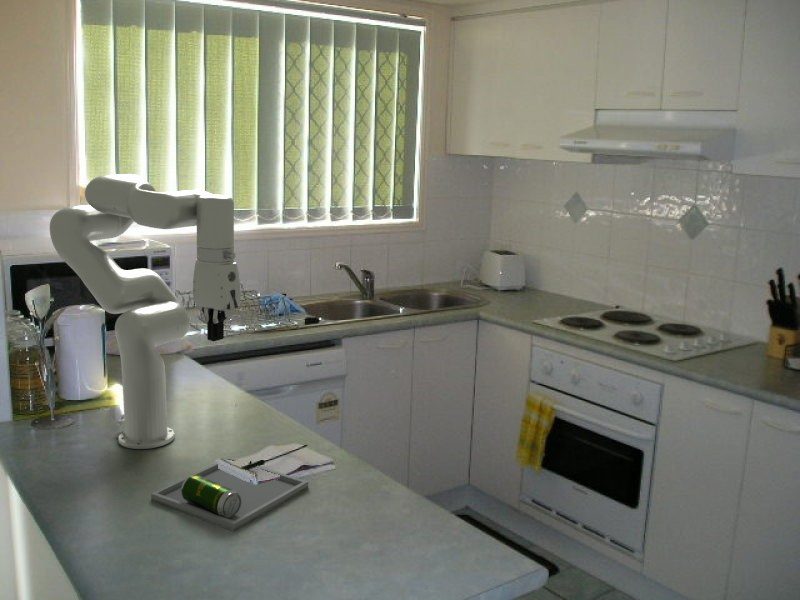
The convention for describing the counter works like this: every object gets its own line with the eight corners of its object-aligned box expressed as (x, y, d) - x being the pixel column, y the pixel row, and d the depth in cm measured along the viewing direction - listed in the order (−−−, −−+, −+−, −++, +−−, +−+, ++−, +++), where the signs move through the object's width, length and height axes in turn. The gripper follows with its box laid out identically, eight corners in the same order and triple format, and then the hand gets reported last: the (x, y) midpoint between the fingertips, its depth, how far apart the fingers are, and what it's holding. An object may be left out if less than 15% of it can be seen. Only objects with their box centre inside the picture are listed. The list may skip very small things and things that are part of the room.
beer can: (196, 501, 165) (237, 520, 158) (175, 499, 161) (217, 518, 154) (204, 475, 166) (246, 492, 159) (185, 472, 161) (226, 489, 154)
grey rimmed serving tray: (151, 500, 164) (151, 493, 164) (229, 463, 182) (228, 456, 182) (234, 531, 153) (234, 523, 153) (308, 488, 171) (308, 481, 171)
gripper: (254, 257, 171) (253, 342, 176) (204, 247, 179) (204, 329, 184) (227, 262, 165) (227, 350, 170) (176, 251, 173) (178, 336, 178)
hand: (215, 339), depth 177 cm, fingers closed
